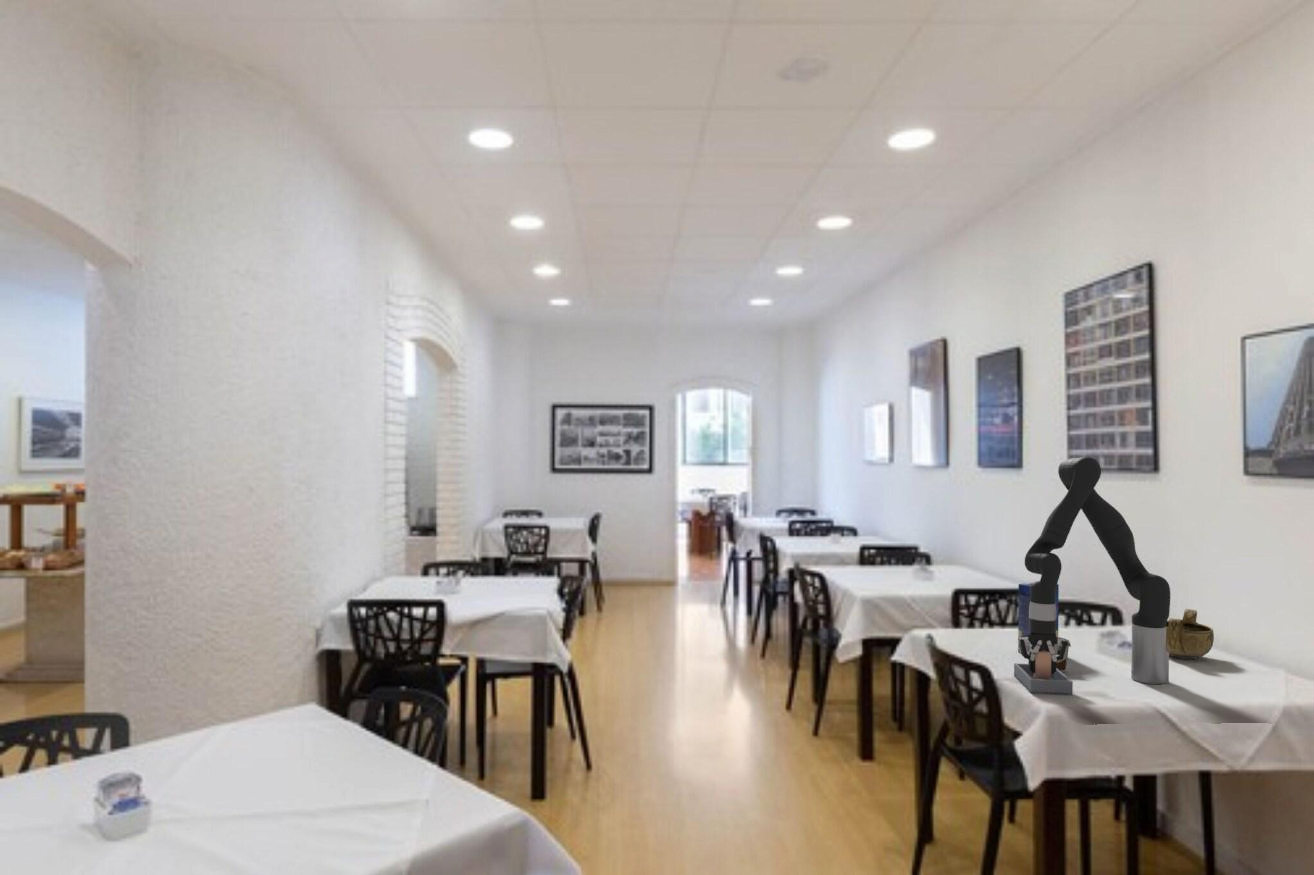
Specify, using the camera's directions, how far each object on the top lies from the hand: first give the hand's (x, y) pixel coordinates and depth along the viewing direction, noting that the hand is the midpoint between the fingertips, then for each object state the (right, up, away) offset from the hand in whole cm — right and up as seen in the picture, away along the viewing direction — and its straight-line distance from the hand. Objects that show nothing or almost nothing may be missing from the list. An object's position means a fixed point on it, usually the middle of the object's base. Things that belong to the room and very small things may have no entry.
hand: (1042, 672), depth 248 cm
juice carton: (+17, -4, +38) cm, 42 cm away
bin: (0, -4, 0) cm, 4 cm away
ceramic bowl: (+64, -4, +32) cm, 72 cm away
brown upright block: (0, -1, 0) cm, 1 cm away
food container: (+11, -4, +19) cm, 22 cm away
